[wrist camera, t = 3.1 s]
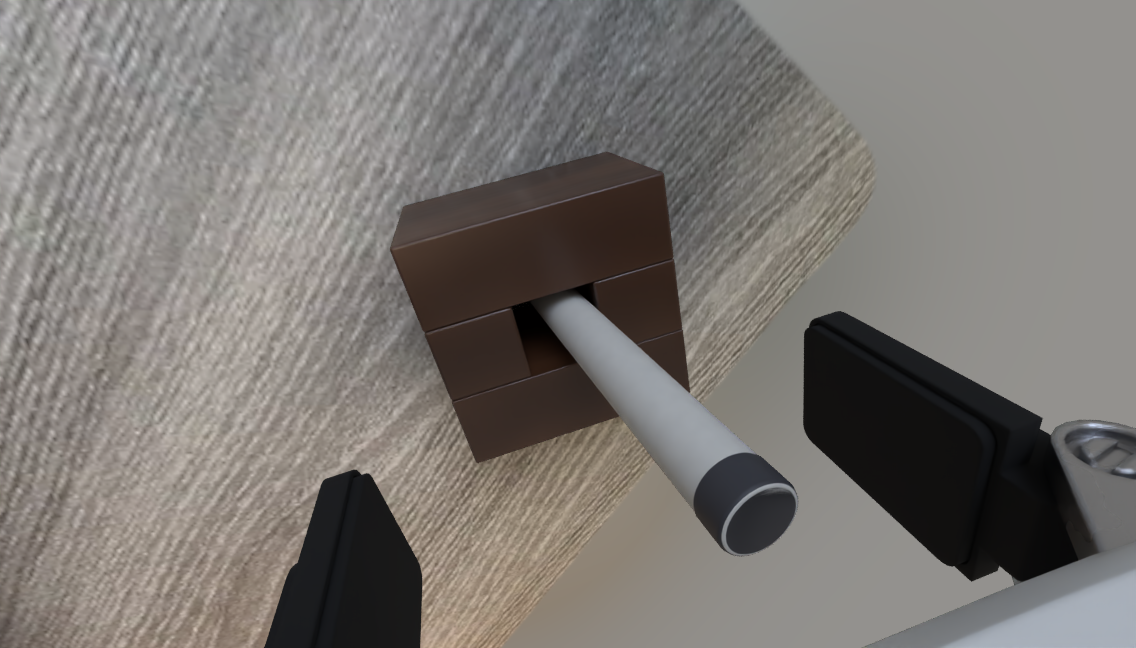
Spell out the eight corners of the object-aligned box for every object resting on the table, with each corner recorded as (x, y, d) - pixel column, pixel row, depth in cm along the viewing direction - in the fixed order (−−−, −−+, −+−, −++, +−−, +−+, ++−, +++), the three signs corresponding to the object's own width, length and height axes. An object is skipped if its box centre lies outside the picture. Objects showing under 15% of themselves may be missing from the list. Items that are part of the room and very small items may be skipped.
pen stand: (402, 206, 17) (388, 248, 12) (608, 150, 17) (664, 172, 13) (468, 381, 20) (476, 464, 16) (638, 329, 21) (690, 393, 16)
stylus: (510, 263, 18) (716, 507, 7) (545, 252, 19) (800, 467, 7) (519, 298, 19) (723, 573, 8) (554, 286, 19) (801, 534, 8)
